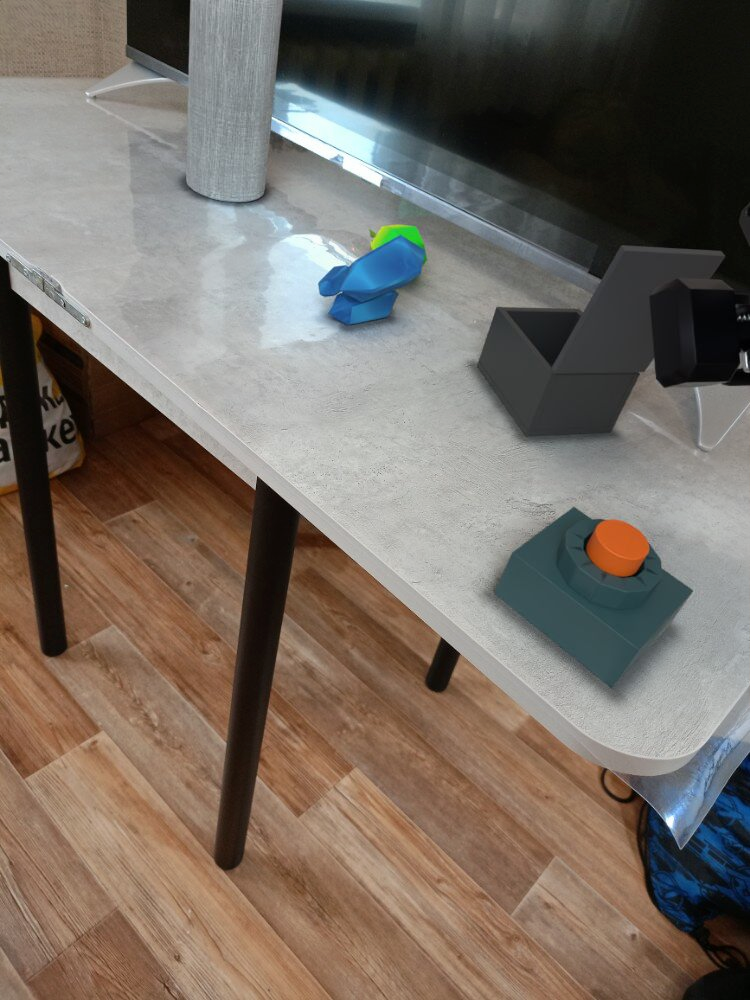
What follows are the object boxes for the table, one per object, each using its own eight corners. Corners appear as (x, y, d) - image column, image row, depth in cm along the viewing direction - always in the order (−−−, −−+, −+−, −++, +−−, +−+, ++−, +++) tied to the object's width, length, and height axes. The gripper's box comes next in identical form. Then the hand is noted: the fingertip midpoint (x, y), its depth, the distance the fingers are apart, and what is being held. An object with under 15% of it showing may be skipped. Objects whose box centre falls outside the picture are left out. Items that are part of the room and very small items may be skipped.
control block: (666, 628, 54) (706, 572, 50) (611, 688, 49) (651, 631, 45) (554, 545, 58) (583, 488, 54) (493, 593, 53) (520, 533, 49)
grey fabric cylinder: (279, 192, 100) (306, -56, 82) (232, 210, 93) (250, -58, 75) (219, 166, 102) (232, -80, 84) (169, 182, 95) (171, -83, 77)
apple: (429, 226, 81) (377, 191, 86) (387, 268, 81) (338, 231, 86) (446, 266, 87) (398, 232, 92) (408, 305, 88) (361, 269, 92)
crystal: (302, 247, 73) (396, 207, 78) (307, 321, 79) (393, 279, 84) (350, 282, 69) (445, 238, 74) (351, 357, 76) (438, 311, 81)
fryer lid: (621, 244, 55) (625, 250, 54) (721, 250, 58) (726, 256, 58) (550, 368, 64) (554, 373, 64) (640, 367, 67) (644, 372, 67)
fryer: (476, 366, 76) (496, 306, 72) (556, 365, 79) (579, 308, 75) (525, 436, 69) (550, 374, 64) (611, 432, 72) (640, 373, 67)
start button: (647, 561, 50) (659, 543, 49) (622, 585, 48) (633, 567, 47) (603, 529, 52) (613, 511, 51) (575, 552, 50) (585, 533, 48)
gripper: (991, 169, 45) (770, 258, 59) (752, 140, 38) (569, 247, 53) (1007, 357, 45) (782, 399, 59) (770, 359, 38) (582, 406, 53)
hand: (685, 361), depth 56 cm, fingers closed
